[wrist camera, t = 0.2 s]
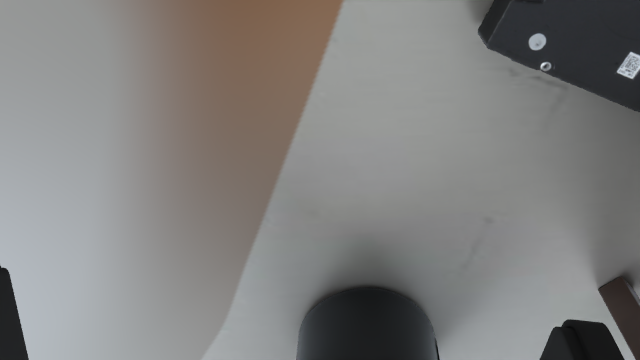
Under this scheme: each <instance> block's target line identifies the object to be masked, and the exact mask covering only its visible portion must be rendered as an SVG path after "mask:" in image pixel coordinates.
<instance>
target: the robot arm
mask: <svg viewBox="0 0 640 360" xmlns="http://www.w3.org/2000/svg"><path fill="white" fill-rule="evenodd" d="M0 360H29V359H28V354H27V350H26V346H25V341H24V337H23V332H22V328H21V324H20V319H19V314H18V310H17V305H16V301H15V297H14V292H13V288H12V283H11V279H10V274H9V272H8V270H7V269H6V268H1V266H0ZM540 360H624V358H623V356H622V354H621V352H620V350H619V348H618V346H617V344H616V343H615V341H614V339H613V337H612V335H611V333H610V331H609V329H608V328H607V327H606V325H604V324H603V323H599V322H590V321H580V320H566V321H565V322H564V323H563V325H562V327H555V328H553V330H552V332H551V334H550V336H549V339H548V341H547V344H546V346H545V348H544V351H543V353H542V356H541V358H540Z"/></svg>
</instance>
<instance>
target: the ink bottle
mask: <svg viewBox="0 0 640 360" xmlns="http://www.w3.org/2000/svg"><path fill="white" fill-rule="evenodd" d="M436 343H437V341H436V340H435V334H434V331H433V328H432V325H431V323H430V321H429V319H428V318H427V316H426V315H425V314H424V312H423V311H422V310H421V309H420V308H419V307H418V306H416V305H415V304H414V303H413V302H411V301H410V300H408V299H407V298H405V297H403V296H401V295H399V294H397V293H394V292H391V291H388V290H384V289H378V288H359V289H353V290H348V291H344V292H341V293H338V294H336V295H333V296H331V297H329V298H327V299H325V300H324V301H322V302H320V303H319V304H318V305H316V306H315V307H314V308H313V309H312V310H311V311H310V312H309V313H308V315H307V316H306V317H305V319H304V321H303V323H302V325H301V328H300V331H299V338H298V347H297V357H296V360H440V359H439V353H438V347H437V346H436Z"/></svg>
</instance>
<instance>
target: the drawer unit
mask: <svg viewBox="0 0 640 360" xmlns="http://www.w3.org/2000/svg"><path fill="white" fill-rule="evenodd" d="M598 291H599V293H600V295H601V296H602V298H603V300H604V302H605V304H606V306H607V307H608V309H609V311H610V313H611V315H612V317H613V319H614V320H615V322H616V324H617V326H618V328H619V330H620V332H621V333H622V335H623V337H624V339H625V341H626V343H627V344H628V346H629V348H630V350H631V352H632V354H633V356H634V357H635V359H636V360H640V299H639V297H638V295H637V294H636V292H635V291H634V290H633V288H632V287H631V286H630V285H629V284H628V283H627V282H626V281H625V280H624V278H623V277H619V278H617V279H615V280H613V281H612V282H610V283H608V284H606V285H605V286H603V287H601V288H599V289H598Z"/></svg>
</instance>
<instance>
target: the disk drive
mask: <svg viewBox="0 0 640 360" xmlns="http://www.w3.org/2000/svg"><path fill="white" fill-rule="evenodd" d="M478 34H479V35H480V37H481V39H482V40H483V42H484V44H485V45H486V46H487V48H488V49H490V50H493V51H496V52H498V53H500V54H502V55H504V56H507V57H508V58H510V59H511V60H512V61H515V62H518V63H520V64H523V65H525V66H527V67H529V68H533V69H536V70H541V71H542V72H544V73H547V74H549V75H551V76H553V77H556V78H558V79H560V80H562V81H565V82H567V83H571V84H572V85H575V86H578V87H580V88H583V89H585V90H587V91H589V92H592V93H595V94H597V95H599V96H601V97H604V98H606V99H608V100H610V101H613V102H616V103H619V104H621V105H623V106H625V107H628V108H630V109H632V110H634V111H638V112H640V0H495V1H494V3H493V4H492V7H491V8H490V11H489V12H488V14H487V15H486V17H485V19H484V20H483V22H482V24H481V26H480V27H479V29H478Z"/></svg>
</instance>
